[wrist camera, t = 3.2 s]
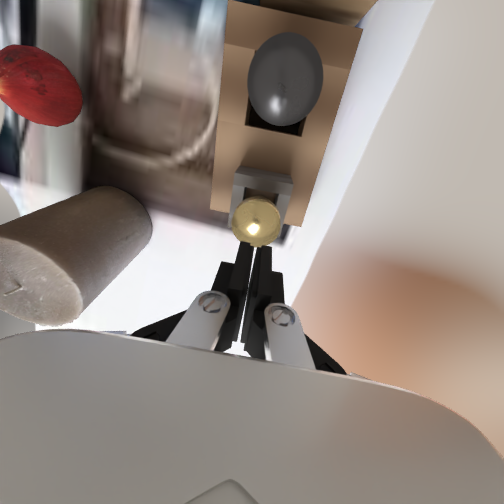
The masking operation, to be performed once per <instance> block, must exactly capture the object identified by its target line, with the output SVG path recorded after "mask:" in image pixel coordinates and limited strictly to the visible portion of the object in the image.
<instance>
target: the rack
mask: <svg viewBox="0 0 504 504" xmlns="http://www.w3.org/2000/svg"><path fill="white" fill-rule="evenodd" d="M377 1H378V0H260V7H265V8H269V9H274V10H279V11H283V12H288V13H292V14H297V15H302V16H306V17H311V18H315V19H320V20H325V21H329V22H334V23H338V24H343V25H347V26H352V27H355V25H356V24H357V23H358V22H359V21H360V20H361V19H362V18H363V16H364V15H365V14H366V13H367V12H368V11H369V10H370V8H371V7H372V6H373V5H374V4H375V3H376V2H377Z"/></svg>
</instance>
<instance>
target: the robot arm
mask: <svg viewBox="0 0 504 504" xmlns="http://www.w3.org/2000/svg"><path fill="white" fill-rule="evenodd" d="M250 244H251V243H249V242H244V241H241V242H240V246H239V249H238V253H237V257H236V261H235V264H233V263H228V262H221V264H220V267H219V270H218V272H217V275H216V278H215V281H214V283H213V286H212V289H211V291H206V292H203V293H201V294H199V295H198V296H197V297H196V298H195V300H194V301H193V303H192V304H191V305H190V307H189V308H188V310H185V311H183V312H180V313H178V314H175V315H173V316H170V317H168V318H165V319H163V320H160V321H158V322H155V323H153V324H150V325H148V326H146V327H143V328H141V329H139V330H137V331H135V332H134V333H132V334H127V332H126V331H91V330H79V329H49V330H40V331H32V332H26V333H20V334H16V335H12V336H8V337H5V338H2V339H0V504H504V458H503V456H502V455H501V454H500V453H499V451H498V450H497V449H496V448H495V447H494V445H493V444H492V443H491V442H490V441H489V440H488V438H487V437H486V436H485V435H484V434H483V433H482V432H481V431H480V430H479V429H478V428H477V427H476V426H474V425H473V424H472V423H471V422H470V421H468V420H467V419H466V418H464V417H462V416H461V415H460V414H458V413H457V412H455V411H453V410H452V409H450V408H448V407H446V406H445V405H443V404H441V403H439V402H437V401H435V400H433V399H431V398H428V397H426V396H423V395H421V394H418V393H416V392H413V391H410V390H407V389H404V388H400V387H397V386H392V385H388V384H384V383H379V382H375V381H372V380H370V379H367V378H365V377H362V376H360V375H357V374H355V373H352V372H351V373H350V375H349V374H346V372H345V371H344V369H343V368H342V367H341V366H340V365H339V364H338V363H337V362H336V361H335V360H334V359H332V358H331V357H330V356H329V355H328V354H327V353H326V352H325V351H323V350H322V349H321V348H320V347H319V346H318V345H317V344H316V343H315V342H313V341H312V340H311V339H310V338H309V337H308V336H307V335H305V334H304V332H303V328H302V326H301V322H300V319H299V316H298V315H297V313H296V311H295V310H294V309H292V308H291V307H290V306H288V305H285V302H284V288H283V275H282V273H280V272H275V271H272V247H270V246H265V245H261V247H257V250H256V255H255V259H254V264H253V268H252V273H251V278H250V271H251V264H252V258H253V251H254V246H251V245H250ZM249 278H250V282H249ZM248 285H249V287H248ZM247 291H248V293H247ZM246 297H247V300H246ZM245 301H246V307H245V314H244V321H243V327H242V334H241V343H245V345H244V351H247V352H248V353H249V355H250V356H251V357H246V356H240V355H235V354H229V353H224V351H226V350H227V349H229V348H231V345H232V341H235V342H237V338H238V334H239V329H240V324H241V320H242V315H243V311H244V306H245Z"/></svg>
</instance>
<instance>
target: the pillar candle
mask: <svg viewBox="0 0 504 504" xmlns="http://www.w3.org/2000/svg"><path fill="white" fill-rule="evenodd" d="M151 235H152V224H151V221H150V218H149V215H148V213H147V211H146V210H145V209H144V207H143V206H142V205H141V204H140V203H139V202H138V201H137V200H136V199H135V198H134V197H133V196H131V195H130V194H128V193H126V192H124V191H122V190H120V189H118V188H115V187H112V186H97V187H95V188H91V189H90V190H88V191H86V192H83V193H80V194H78V195H75V196H72V197H70V198H68V199H66V200H63V201H60V202H57V203H55V204H52V205H50V206H47V207H45V208H42V209H40V210H37V211H35V212H32V213H30V214H27V215H24V216H22V217H20V218H17V219H15V220H12V221H10V222H7V223H5V224H2V225H0V309H1V310H3V311H4V312H7V313H9V314H10V315H13V316H15V317H17V318H20V319H22V320H25V321H28V322H32V323H36V324H39V325H41V326H59V325H60V326H62V325H63V324H66V323H71V322H73V320H74V319H77V318H78V317H79V315H80V314H81V313H82V312H83V311H84V310H85V309H86V308H87V306H88V305H89V304H90V303H91V302H92V301H93V300H94V299H95V298H96V297H97V296H98V295H99V294H100V293H101V292H102V291H103V290H104V289H105V288H106V287H107V286H108V285H109V284H110V283H111V282H112V281H113V280H114V279H115V278H116V277H117V275H118V274H119V273H120V272H121V271H122V270H123V269H124V268H125V267H126V266H127V265H128V264H129V263H130V262H131V261H132V260H133V259H134V258H135V257H136V256H137V255H138V254H139V253H140V252H141V250H142V249H144V248H145V246H146V245H147V244H148V242H149V240H150V238H151Z"/></svg>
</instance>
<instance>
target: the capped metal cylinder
mask: <svg viewBox="0 0 504 504" xmlns="http://www.w3.org/2000/svg"><path fill="white" fill-rule="evenodd" d="M322 86H323V65H322V61H321V58H320V55H319V53H318V51H317V49H316V48H315V46H314V45H313V44H312V43H311V42H310V40H308V39H307V38H306V37H304V36H302V35H300V34H297V33H292V32H284V33H279V34H277V35H274V36H272V37H271V38H269V39H268V40H266V41H265V42H264V43H263V44H262V45H261V46H260V47H259V49H258V50H257V51H256V53H255V55H254V57H253V59H252V61H251V64H250V67H249V71H248V78H247V88H248V95H249V99H250V101H251V104H252V106H253V108H254V110H255V111H256V112H257V114H258V115H259V116H260V117H261V118H262V119H263V120H265V121H266V122H268V123H270V124H273V125H277V126H287V125H292V124H295V123H297V122H299V121H300V120H302V119H303V118H304V117H306V116H307V115H308V114H309V113H310V112H311V110H312V109H313V108H314V106H315V104H316V103H317V101H318V99H319V96H320V93H321V90H322Z"/></svg>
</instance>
